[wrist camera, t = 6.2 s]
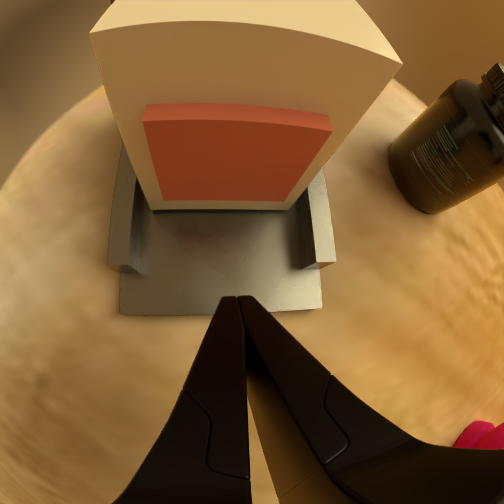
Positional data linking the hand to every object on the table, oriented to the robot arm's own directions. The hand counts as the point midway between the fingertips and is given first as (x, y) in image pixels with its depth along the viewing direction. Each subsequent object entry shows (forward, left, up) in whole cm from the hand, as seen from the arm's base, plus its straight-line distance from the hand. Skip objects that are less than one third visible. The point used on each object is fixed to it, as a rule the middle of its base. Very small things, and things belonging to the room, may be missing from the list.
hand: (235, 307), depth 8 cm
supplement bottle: (+15, -10, -6) cm, 19 cm away
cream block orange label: (+6, +3, -5) cm, 8 cm away
